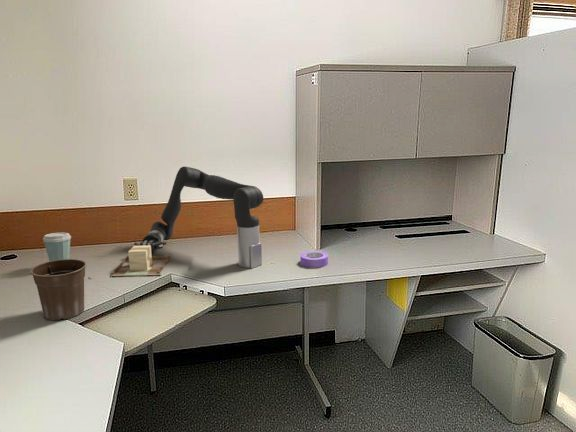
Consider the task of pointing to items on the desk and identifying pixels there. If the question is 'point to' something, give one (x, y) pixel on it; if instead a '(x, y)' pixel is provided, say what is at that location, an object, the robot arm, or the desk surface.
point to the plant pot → (60, 287)
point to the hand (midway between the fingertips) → (143, 251)
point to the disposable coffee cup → (57, 245)
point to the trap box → (150, 271)
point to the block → (140, 257)
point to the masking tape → (314, 259)
